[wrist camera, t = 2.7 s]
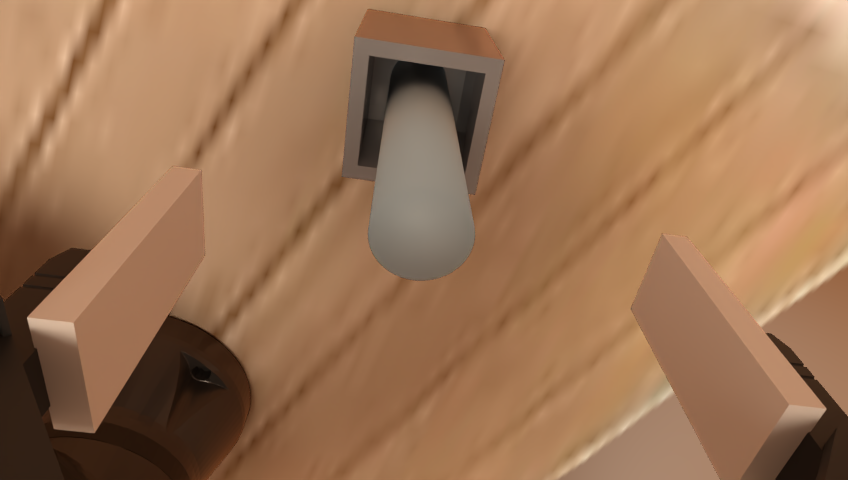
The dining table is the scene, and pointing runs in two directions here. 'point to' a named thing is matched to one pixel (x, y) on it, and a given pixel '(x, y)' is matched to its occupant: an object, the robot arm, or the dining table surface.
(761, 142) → the dining table surface
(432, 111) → the dowel
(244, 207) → the dining table surface
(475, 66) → the cup
